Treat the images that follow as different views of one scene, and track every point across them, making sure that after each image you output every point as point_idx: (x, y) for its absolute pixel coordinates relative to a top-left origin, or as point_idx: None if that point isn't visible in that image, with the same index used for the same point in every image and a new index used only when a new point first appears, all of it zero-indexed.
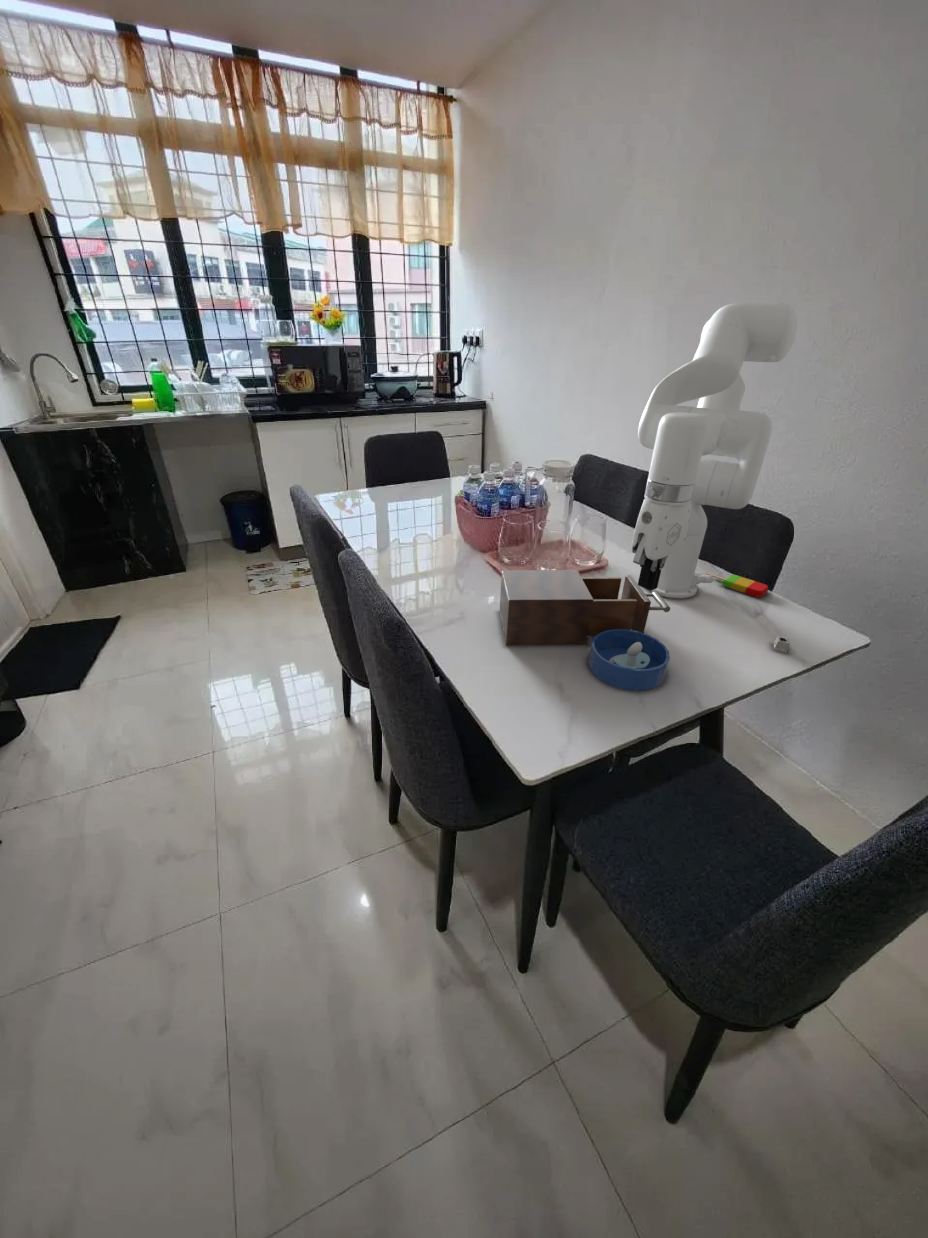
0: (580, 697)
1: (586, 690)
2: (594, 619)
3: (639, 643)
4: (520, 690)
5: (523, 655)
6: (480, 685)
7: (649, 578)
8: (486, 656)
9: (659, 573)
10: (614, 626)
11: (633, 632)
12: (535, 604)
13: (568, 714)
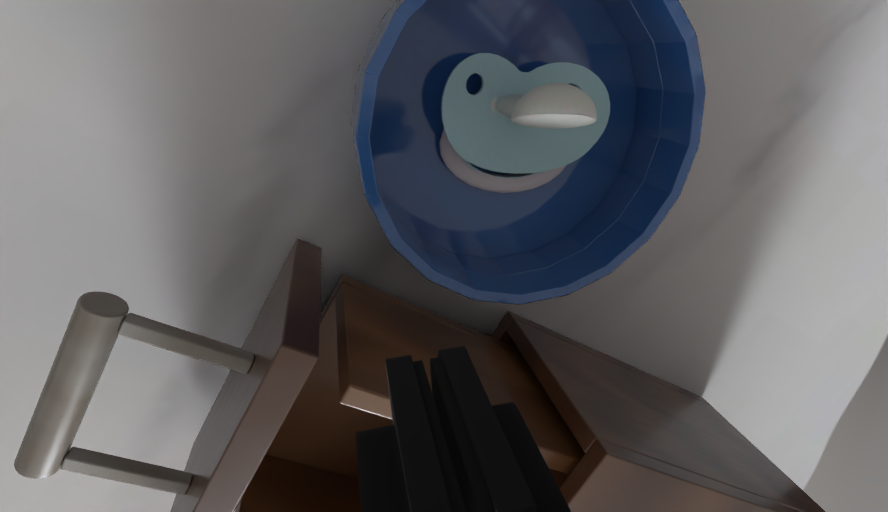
0: (761, 79)
1: (718, 98)
2: (509, 379)
3: (565, 103)
4: (842, 204)
5: (705, 339)
6: (883, 272)
7: (521, 455)
8: (776, 372)
9: (434, 485)
10: (417, 327)
11: (406, 243)
12: (771, 497)
13: (853, 32)
